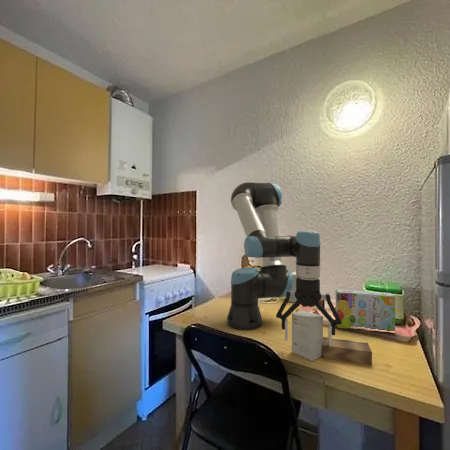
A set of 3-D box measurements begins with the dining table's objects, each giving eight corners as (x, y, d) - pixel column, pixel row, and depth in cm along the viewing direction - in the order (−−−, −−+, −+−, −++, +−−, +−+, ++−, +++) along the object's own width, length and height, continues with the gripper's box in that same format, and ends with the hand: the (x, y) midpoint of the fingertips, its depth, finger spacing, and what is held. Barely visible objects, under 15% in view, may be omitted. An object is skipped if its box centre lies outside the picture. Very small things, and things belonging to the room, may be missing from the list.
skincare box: (295, 298, 151) (295, 271, 151) (305, 300, 146) (306, 272, 146) (287, 301, 145) (287, 273, 144) (298, 303, 140) (298, 274, 140)
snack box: (390, 329, 108) (391, 292, 108) (395, 334, 103) (395, 296, 102) (335, 323, 114) (335, 288, 114) (336, 328, 109) (337, 291, 108)
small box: (323, 355, 86) (323, 316, 86) (312, 361, 82) (312, 320, 82) (302, 346, 93) (302, 309, 92) (291, 351, 89) (291, 313, 88)
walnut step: (323, 357, 85) (323, 344, 85) (322, 348, 91) (322, 336, 91) (371, 364, 81) (372, 351, 81) (367, 355, 86) (367, 342, 86)
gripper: (268, 277, 87) (268, 341, 87) (351, 282, 80) (351, 352, 80) (271, 273, 94) (271, 332, 94) (347, 278, 87) (347, 342, 87)
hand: (307, 342), depth 87 cm, fingers open, 13 cm apart
